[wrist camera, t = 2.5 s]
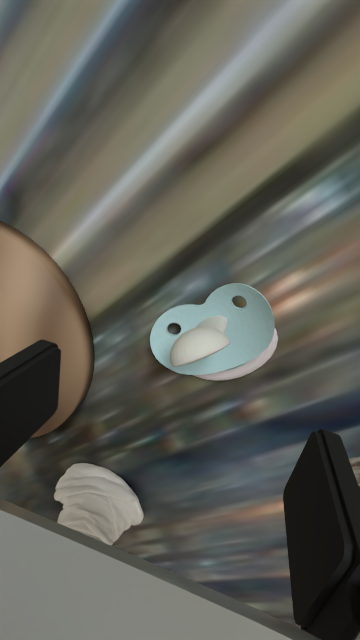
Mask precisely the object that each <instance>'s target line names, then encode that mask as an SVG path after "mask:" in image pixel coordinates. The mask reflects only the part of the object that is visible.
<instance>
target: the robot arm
mask: <svg viewBox="0 0 360 640" xmlns="http://www.w3.org/2000/svg"><path fill="white" fill-rule="evenodd" d="M60 364H61V350H60V349H59V348H58V345H57V344H56V343H53V342H50V341H47V340H44V339H41V340H39V341H37V342H35V343H34V344H32V345H30V346H28V347H27V348H25V349H23V350H21V351H20V352H18V353H16V354H14V355H13V356H11V357H9V358H7V359H6V360H4V361H2V362H0V467H1V466H2V465H3V464H4V463H5V462H6V461H7V460H8V459H9V458H10V457H11V456H12V455H13V454H14V453H15V452H16V451H17V450H18V449H19V448H20V447H21V446H22V445H23V444H24V443H25V442H26V441H27V440H28V439H29V438H30V437H31V436H32V435H33V434H35V433H36V432H37V431H38V430H39V429H40V428H41V427H42V426H43V425H44V424H45V423H46V422H47V421H48V420H49V419H50V418H51V417H52V416H53V415H54V414H55V412H56V410H57V408H58V398H59V381H60ZM283 501H284V512H285V523H286V534H287V546H288V557H289V568H290V579H291V590H292V601H293V612H294V619H295V622H296V624H298V625H301V629H299V628H297V627H295V626H293V625H290V624H288V623H286V622H284V621H282V620H279V619H277V618H275V617H273V616H271V615H269V614H266V613H264V612H262V611H260V610H258V609H255V608H253V607H251V606H249V605H247V604H244V603H242V602H240V601H238V600H236V599H233V598H231V597H229V596H226V595H224V594H222V593H219V592H217V591H215V590H213V589H210V588H208V587H206V586H203V585H201V584H199V583H196V582H194V581H192V580H190V579H187V578H185V577H183V576H180V575H178V574H176V573H173V572H171V571H169V570H166V569H164V568H162V567H160V566H157V565H155V564H153V563H150V562H148V561H146V560H143V559H141V558H139V557H136V556H134V555H132V554H129V553H127V552H125V551H122V550H120V549H118V548H115V547H113V546H111V545H108V544H106V543H104V542H101V541H99V540H97V539H94V538H92V537H90V536H87V535H85V534H83V533H80V532H78V531H76V530H73V529H71V528H69V527H66V526H64V525H62V524H59V523H57V522H55V521H52V520H50V519H47V518H45V517H43V516H40V515H38V514H36V513H33V512H31V511H28V510H26V509H24V508H21V507H19V506H17V505H14V504H12V503H9V502H7V501H5V500H2V499H0V640H360V486H359V485H358V482H357V480H356V477H355V474H354V472H353V469H352V466H351V464H350V461H349V458H348V456H347V453H346V450H345V448H344V445H343V442H342V440H341V437H340V436H339V435H337V434H334V433H331V432H328V431H325V430H322V429H320V430H319V431H318V432H312V433H311V435H310V437H309V439H308V441H307V443H306V445H305V447H304V449H303V451H302V453H301V455H300V457H299V459H298V462H297V464H296V466H295V468H294V470H293V472H292V474H291V476H290V478H289V480H288V482H287V484H286V486H285V489H284V494H283Z"/></svg>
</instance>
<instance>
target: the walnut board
mask: <svg viewBox="0 0 360 640" xmlns="http://www.w3.org/2000/svg"><path fill="white" fill-rule="evenodd" d="M41 339H44V340H47V341H50V342H53V343H56V344H57V345H58V348H59V349H60V350H61V364H60V381H59V398H58V408H57V410H56V412H55V414H54V415H53V416H52V417H51V418H50V419H49V420H48V421H47V422H46V423H45V424H44V425H43V426H42V427H41V428H40V429H39V430H38V431H37V432H36V433H35V434H33V435H32V436H31V437H30V438H33V437H39V436H41V435H44V434H47V433H49V432H51V431H52V430H54V429H56V428H57V427H59V426H60V425H61V424H62V423H63V422H64V421H65V420H66V419H67V418H68V417H69V416H70V415H71V414H72V413H73V412H74V411H75V410H76V409H77V407H78V406H79V405H80V404H81V403H82V401H83V399H84V398H85V396H86V394H87V392H88V390H89V387H90V384H91V381H92V376H93V370H94V344H93V337H92V333H91V328H90V324H89V321H88V318H87V315H86V312H85V309H84V307H83V305H82V303H81V301H80V299H79V296H78V294H77V292H76V291H75V289H74V287H73V286H72V284H71V283H70V281H69V279H68V278H67V276H66V275H65V274H64V272H63V271H62V270H61V268H60V267H59V266H58V265H57V263H56V262H55V261H54V260H53V259H52V258H51V257H50V256H49V255H48V254H47V253H46V252H45V251H44V250H43V249H42V248H41V247H40V246H39V245H38V244H36V243H35V242H34V241H33V240H32V239H30V238H29V237H27V236H26V235H24V234H23V233H21V232H20V231H18V230H17V229H15V228H13V227H11V226H9V225H7V224H5V223H3V222H1V221H0V362H2V361H4V360H6V359H7V358H9V357H11V356H13V355H14V354H16V353H18V352H20V351H21V350H23V349H25V348H27V347H28V346H30V345H32V344H34V343H35V342H37V341H39V340H41Z"/></svg>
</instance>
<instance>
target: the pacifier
mask: <svg viewBox="0 0 360 640" xmlns="http://www.w3.org/2000/svg"><path fill="white" fill-rule="evenodd" d="M238 295H239V296H242V297H244V298H245V299H246V301H247V304H246V306H245V307H243V308H239V307H236V306H235V305H234V304H233V302H232V298H233V297H234V296H238ZM171 323H178V324H179V325H180V326H181V332H180V333H178V334H175V335H173V334H171V333H169V332H168V330H167V327H168V325H169V324H171ZM277 341H278V337H277V332H276V329H275V321H274V316H273V311H272V309H271V307H270V305H269V303H268V301H267V300H266V298H265V297H264V296H263V295H262V294H261V293H260V292H258V291H257V290H256V289H254V288H252V287H250V286H248V285H245V284H239V283H233V284H227V285H224V286H222V287H220V288H218V289H216V290H215V291H214V292H212V293H211V295H210V296H209V297H208V298H207V300H206V302H205V303H204V304H202V305H195V304H185V305H180V306H177V307H174V308H172V309H170V310H168V311H167V312H165V313H164V314H162V315H161V316H160V317H159V319H158V320H157V321H156V323H155V324H154V326H153V329H152V332H151V336H150V344H151V349H152V352H153V354H154V355H155V357H156V359H157V360H158V361H159V362H160V363H161V364H163V365H164V366H165V367H166V368H169V369H171V370H172V371H175V372H177V373H180V374H186V375H194V376H196V377H199V378H202V379H206V380H214V381H219V380H230V379H234V378H238V377H241V376H244V375H246V374H249V373H251V372H253V371H254V370H256V369H258V368H259V367H261V366H262V365H263V364H264V363H265V362H266V361H267V360H268V359H269V358H270V357H271V356H272V354H273V352H274V351H275V349H276V346H277Z"/></svg>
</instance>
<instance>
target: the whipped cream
mask: <svg viewBox="0 0 360 640" xmlns="http://www.w3.org/2000/svg"><path fill="white" fill-rule="evenodd" d="M55 490H56V492H55V494H54V499H55V500H57V501H60V502H61V503H63V504H64V505H63V510H62V511H61V512H60V514H59V517H58V521H57V523H59V524H62V525H64V526H66V527H69V528H71V529H73V530H76V531H78V532H80V533H83V534H85V535H87V536H90V537H92V538H94V539H97V540H99V541H101V542H104V543H106V544H108V545H113V542H115V541H116V540H117V539H118V538H119V536H120V535H121V534H122V533H123V531H124V530H127V529H129V528H130V526H131V525H138V524H140V523H141V522H142V520H143V518H144V514H143V511H142V508H141V505H140V503H139V499H138V497H137V496H136V494H135V493H134V492H133V491H132V489H131V488H130V487H129V486H128V485H127V483H126V482H125V481H124V480H123V479H122V478H121V477H119V476H118V475H116V474H115V473H113V472H112V471H110V470H108V469H106V468H104V467H100V466H96V465H93V464H88V463H77V464H73V465H72V466H71V467H70V468H68V469H67V470H66V473H65V474H64V475H63V476H62V477H61V478H60V479H59V481H58V483H57V485H56V488H55Z"/></svg>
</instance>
